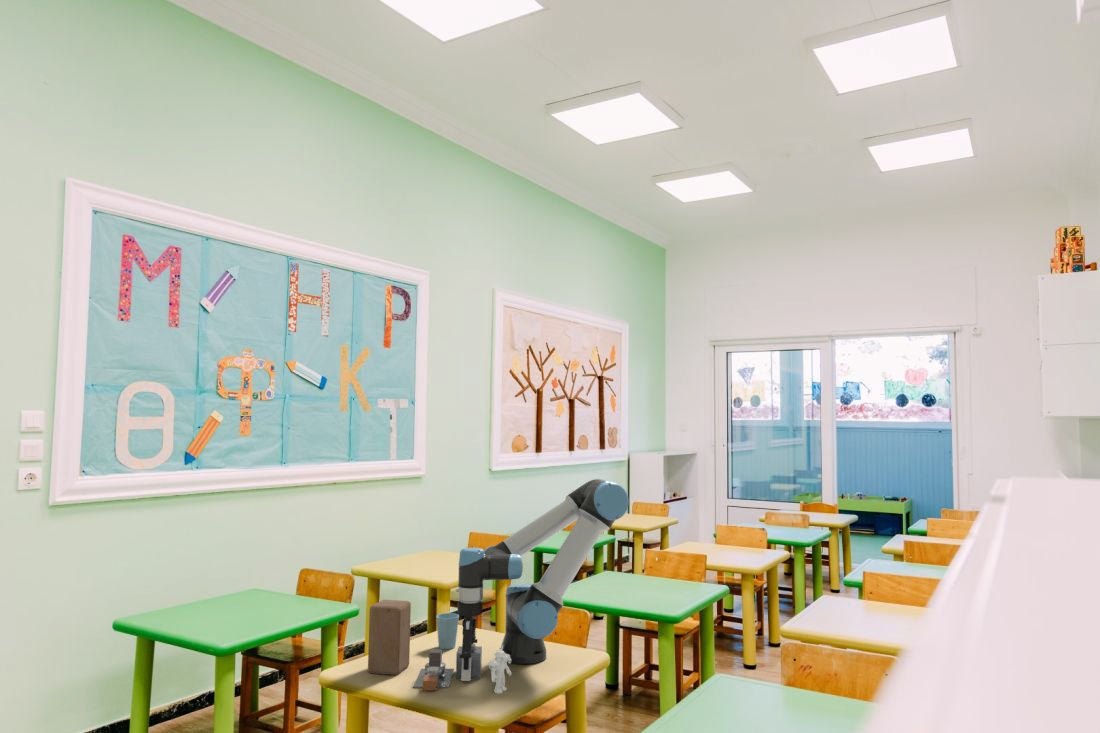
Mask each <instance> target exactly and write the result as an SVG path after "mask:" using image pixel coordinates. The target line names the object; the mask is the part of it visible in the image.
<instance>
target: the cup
mask: <svg viewBox="0 0 1100 733" xmlns="http://www.w3.org/2000/svg"><path fill="white" fill-rule="evenodd" d="M435 618H436V619H435V620H436V629H437V639H438V640H437V641H438V649H442V650H453V649H454V648H456V643H457V636H458V634H457V633H458V626H459V619H460V615H459V614H458V613H453V612H445V613H440V614H437V615H436V617H435Z"/></svg>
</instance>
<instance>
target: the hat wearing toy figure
mask: <svg viewBox="0 0 1100 733" xmlns="http://www.w3.org/2000/svg"><path fill="white" fill-rule="evenodd" d="M502 649H503V646H502V647H501V646H500V647H499V649H498V650H496V652H495V653H494V654H493V656H494V659H493V658H492V659H491V660H490V661H489V662H488V668H489V670H490V674H491V681H492V682H493V683H495V686H494V690H493V692H494V693H496V694H503V692H505V691H507V690H508V687H506V686H505V684H506V677H505V673H506V674H507V675H508V676H509V677H511V676H512V671H511V670H510V667H509V666H508V664H509V665H510V664H512V663H511V662H510V661H512V660H511V658H510V654H506V653H504V651H503V650H502ZM507 661H509V662H507ZM505 670H506V671H505Z"/></svg>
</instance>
